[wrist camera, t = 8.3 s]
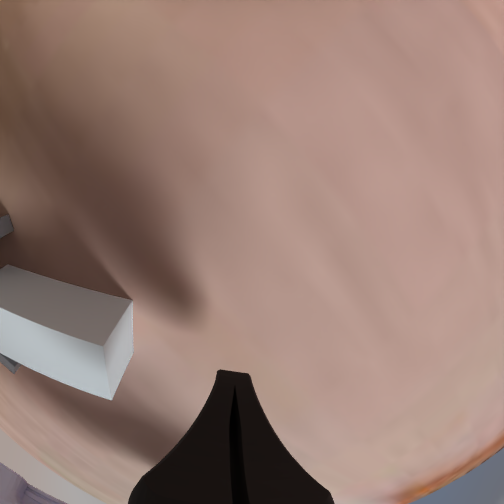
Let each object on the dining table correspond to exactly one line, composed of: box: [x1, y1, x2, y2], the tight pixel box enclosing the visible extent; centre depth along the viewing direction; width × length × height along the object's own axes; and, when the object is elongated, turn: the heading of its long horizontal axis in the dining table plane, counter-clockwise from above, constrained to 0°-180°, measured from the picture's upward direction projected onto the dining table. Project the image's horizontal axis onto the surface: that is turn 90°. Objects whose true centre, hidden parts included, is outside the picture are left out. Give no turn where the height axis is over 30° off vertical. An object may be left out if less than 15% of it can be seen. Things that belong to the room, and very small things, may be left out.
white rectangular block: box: [0, 264, 134, 400], centre depth 12 cm, size 9×4×4 cm, turn 78°
